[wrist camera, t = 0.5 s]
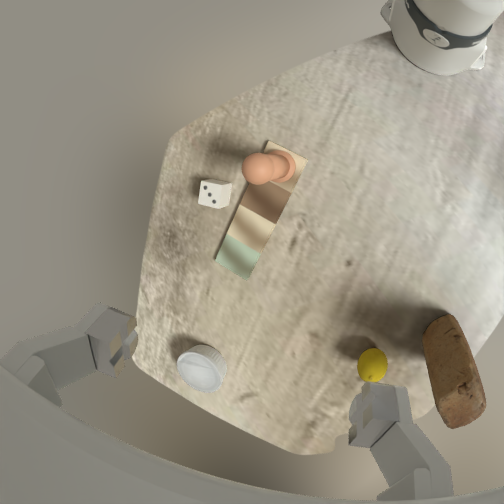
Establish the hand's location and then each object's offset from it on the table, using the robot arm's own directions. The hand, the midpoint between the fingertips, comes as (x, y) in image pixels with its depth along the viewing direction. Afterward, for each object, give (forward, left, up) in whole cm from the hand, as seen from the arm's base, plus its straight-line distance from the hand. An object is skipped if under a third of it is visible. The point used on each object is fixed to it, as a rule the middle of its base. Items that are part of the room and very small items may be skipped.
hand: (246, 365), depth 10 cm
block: (+11, +30, -42) cm, 53 cm away
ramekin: (+45, -7, -42) cm, 62 cm away
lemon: (+21, +20, -42) cm, 51 cm away
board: (+9, -11, -42) cm, 44 cm away
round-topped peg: (0, -11, -41) cm, 43 cm away
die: (+9, -19, -42) cm, 47 cm away
